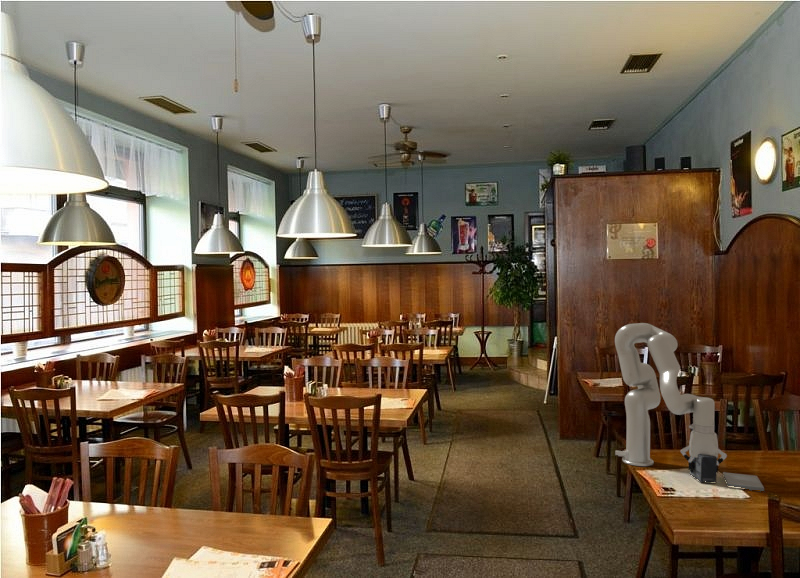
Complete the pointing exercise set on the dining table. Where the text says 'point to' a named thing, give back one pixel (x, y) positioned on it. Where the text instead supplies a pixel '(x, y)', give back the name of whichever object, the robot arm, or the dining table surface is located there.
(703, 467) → the small box
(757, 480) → the slate board
